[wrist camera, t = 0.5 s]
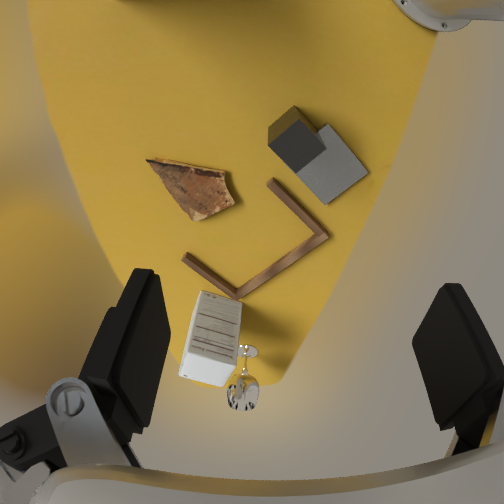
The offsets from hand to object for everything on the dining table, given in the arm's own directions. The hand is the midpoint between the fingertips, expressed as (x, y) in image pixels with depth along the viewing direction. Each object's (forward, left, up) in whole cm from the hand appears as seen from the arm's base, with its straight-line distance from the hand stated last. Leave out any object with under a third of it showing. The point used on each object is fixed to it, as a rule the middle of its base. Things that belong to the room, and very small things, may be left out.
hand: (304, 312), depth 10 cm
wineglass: (+34, +28, -29) cm, 53 cm away
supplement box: (+29, +16, -30) cm, 45 cm away
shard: (+15, -1, -30) cm, 34 cm away
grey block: (0, +6, -29) cm, 30 cm away
